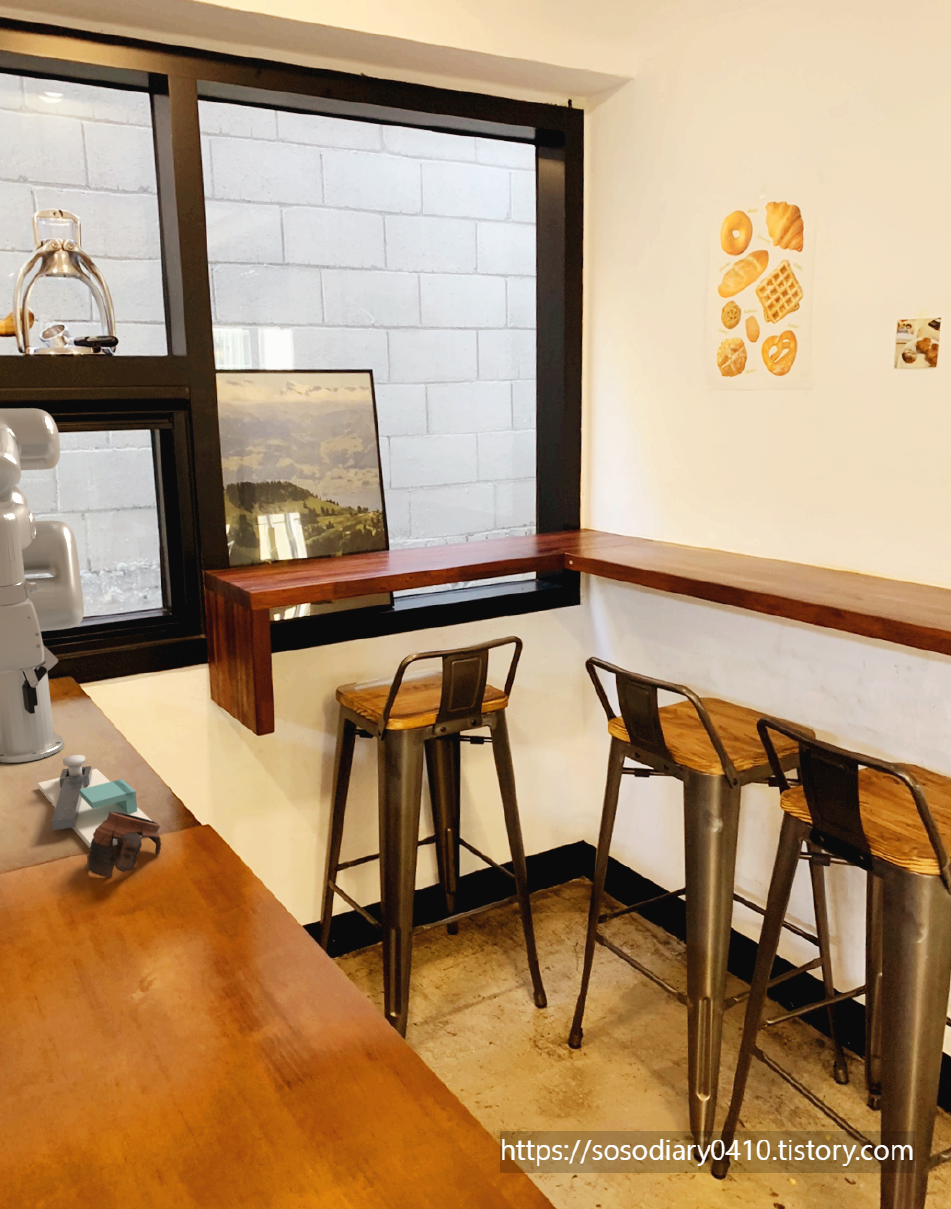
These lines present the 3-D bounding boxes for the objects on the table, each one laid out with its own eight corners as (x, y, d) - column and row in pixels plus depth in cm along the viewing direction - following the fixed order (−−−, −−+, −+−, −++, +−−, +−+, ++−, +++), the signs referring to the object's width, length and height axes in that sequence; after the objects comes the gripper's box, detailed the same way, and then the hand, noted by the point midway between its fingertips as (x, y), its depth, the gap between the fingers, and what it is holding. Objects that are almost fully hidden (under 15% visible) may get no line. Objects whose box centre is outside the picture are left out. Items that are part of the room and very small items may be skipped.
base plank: (38, 788, 157) (35, 758, 156) (97, 773, 163) (94, 745, 161) (92, 851, 136) (89, 817, 134) (158, 832, 141) (155, 799, 140)
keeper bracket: (81, 809, 147) (79, 789, 146) (124, 798, 151) (122, 778, 150) (94, 823, 142) (92, 802, 141) (137, 811, 146) (135, 791, 145)
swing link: (63, 777, 158) (62, 768, 158) (91, 774, 159) (91, 765, 159) (47, 830, 139) (46, 821, 139) (79, 826, 140) (78, 817, 140)
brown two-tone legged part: (75, 863, 133) (96, 805, 135) (141, 877, 138) (160, 821, 140) (91, 878, 123) (113, 815, 125) (161, 893, 128) (181, 832, 130)
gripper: (51, 583, 145) (63, 697, 149) (-73, 598, 135) (-57, 720, 139) (66, 591, 139) (78, 709, 143) (-63, 608, 129) (-46, 734, 133)
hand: (11, 713), depth 141 cm, fingers open, 4 cm apart
